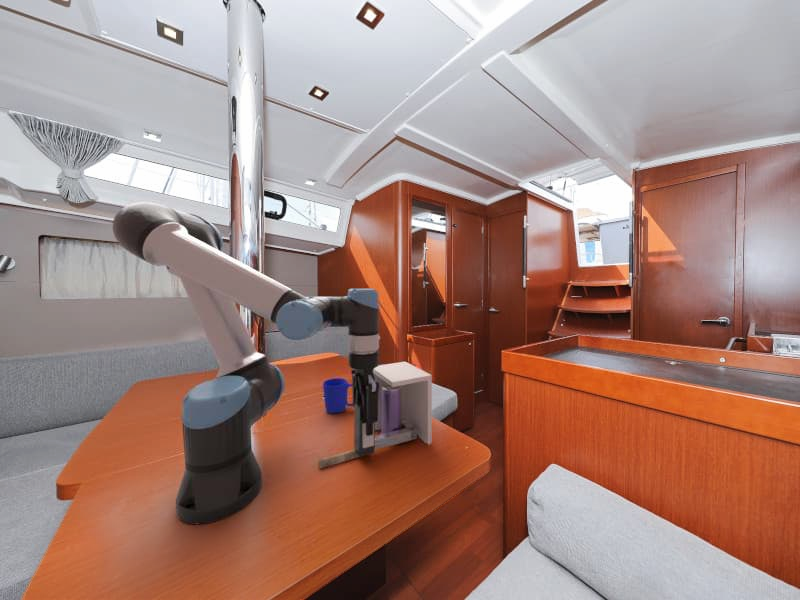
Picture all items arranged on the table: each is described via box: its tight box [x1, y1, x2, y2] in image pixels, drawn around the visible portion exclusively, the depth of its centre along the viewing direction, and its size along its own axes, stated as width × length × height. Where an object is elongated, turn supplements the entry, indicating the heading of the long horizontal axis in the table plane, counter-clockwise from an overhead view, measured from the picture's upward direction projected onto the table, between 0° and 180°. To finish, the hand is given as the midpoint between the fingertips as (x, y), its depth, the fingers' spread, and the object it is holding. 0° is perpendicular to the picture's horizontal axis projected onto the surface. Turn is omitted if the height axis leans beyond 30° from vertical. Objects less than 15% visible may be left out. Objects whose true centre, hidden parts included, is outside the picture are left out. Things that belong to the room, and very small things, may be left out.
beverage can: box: [380, 383, 402, 434], centre depth 80 cm, size 6×6×15 cm
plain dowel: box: [317, 449, 365, 470], centre depth 71 cm, size 12×2×2 cm
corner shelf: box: [373, 361, 433, 446], centre depth 81 cm, size 12×15×19 cm
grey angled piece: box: [353, 401, 418, 458], centre depth 77 cm, size 17×8×12 cm, turn 117°
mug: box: [322, 377, 353, 414], centre depth 98 cm, size 8×12×10 cm
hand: (364, 441), depth 72 cm, fingers closed on grey angled piece, 4 cm apart
